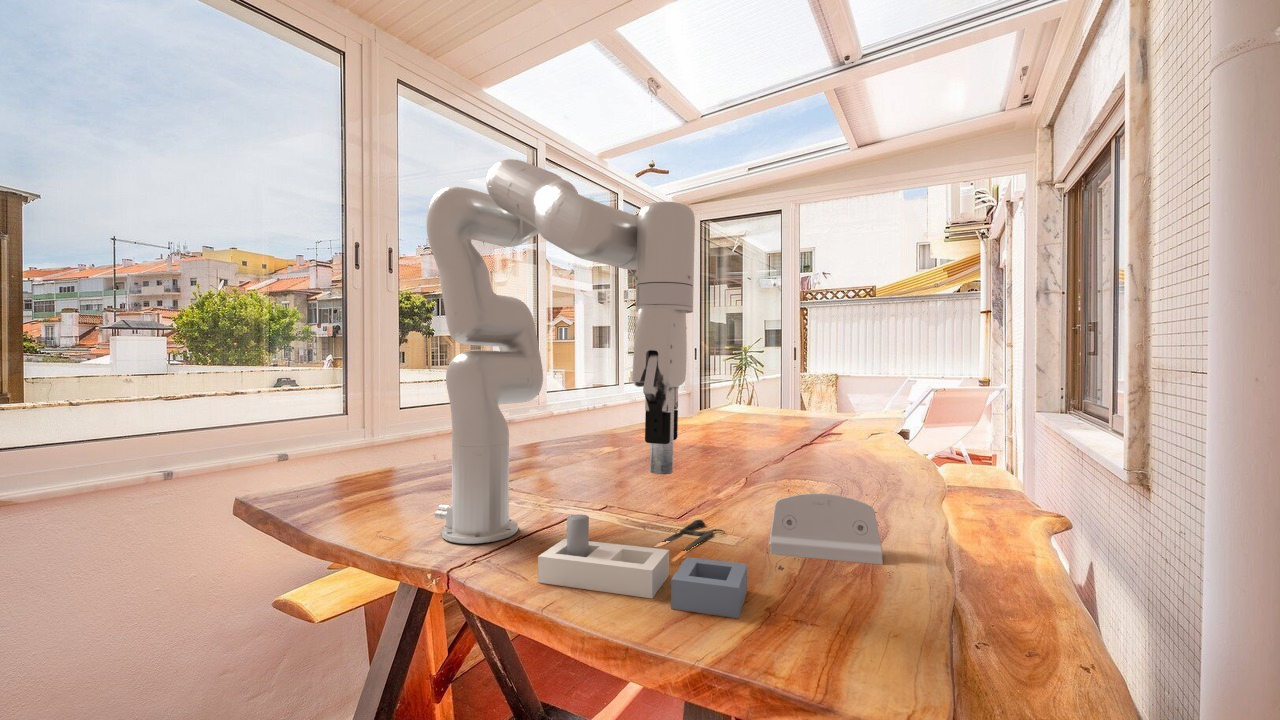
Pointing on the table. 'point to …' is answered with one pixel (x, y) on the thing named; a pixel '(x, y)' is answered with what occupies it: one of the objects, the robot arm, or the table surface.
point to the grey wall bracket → (825, 529)
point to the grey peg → (663, 452)
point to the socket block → (709, 587)
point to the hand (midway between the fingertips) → (661, 439)
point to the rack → (602, 564)
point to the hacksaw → (694, 533)
